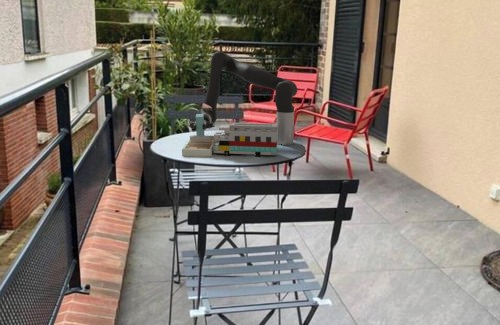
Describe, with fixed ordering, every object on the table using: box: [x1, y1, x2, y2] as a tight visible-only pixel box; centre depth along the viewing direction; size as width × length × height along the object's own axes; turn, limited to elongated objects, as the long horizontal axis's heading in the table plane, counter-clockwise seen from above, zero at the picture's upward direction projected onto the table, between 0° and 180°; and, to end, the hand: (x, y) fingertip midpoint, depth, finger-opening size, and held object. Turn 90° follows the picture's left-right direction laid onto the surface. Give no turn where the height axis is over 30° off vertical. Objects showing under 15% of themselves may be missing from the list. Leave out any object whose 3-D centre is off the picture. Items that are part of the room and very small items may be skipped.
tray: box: [181, 143, 214, 158], centre depth 241 cm, size 11×14×3 cm
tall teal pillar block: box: [189, 113, 211, 142], centre depth 246 cm, size 5×10×13 cm, turn 88°
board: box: [187, 134, 217, 149], centre depth 256 cm, size 18×12×4 cm, turn 178°
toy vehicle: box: [213, 122, 278, 158], centre depth 239 cm, size 8×30×15 cm, turn 84°
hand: (199, 127), depth 243 cm, fingers closed on tall teal pillar block, 3 cm apart
